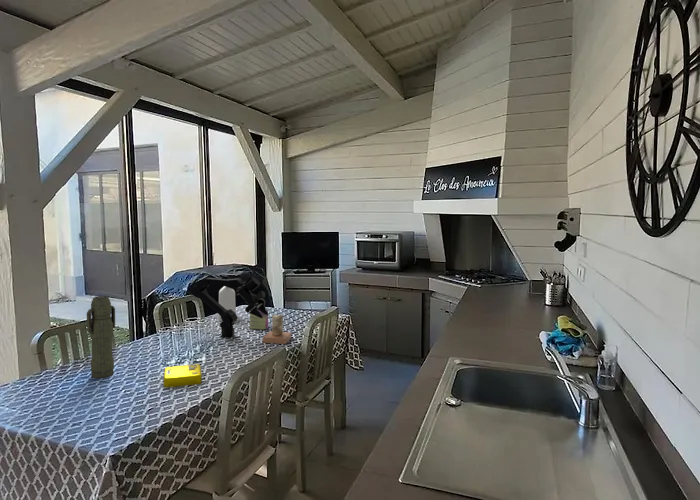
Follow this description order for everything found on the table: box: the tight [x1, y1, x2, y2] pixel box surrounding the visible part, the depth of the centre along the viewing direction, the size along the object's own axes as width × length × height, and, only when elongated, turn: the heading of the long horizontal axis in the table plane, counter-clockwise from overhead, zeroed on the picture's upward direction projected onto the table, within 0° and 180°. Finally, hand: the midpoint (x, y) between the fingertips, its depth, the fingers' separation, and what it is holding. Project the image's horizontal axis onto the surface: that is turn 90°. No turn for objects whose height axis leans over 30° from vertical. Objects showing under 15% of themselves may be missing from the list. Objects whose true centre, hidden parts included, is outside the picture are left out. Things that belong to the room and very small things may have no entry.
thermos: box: [86, 295, 116, 380], centre depth 193 cm, size 9×12×35 cm
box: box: [249, 309, 269, 330], centre depth 280 cm, size 10×6×12 cm, turn 84°
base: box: [262, 331, 292, 345], centre depth 255 cm, size 13×13×3 cm
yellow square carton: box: [163, 363, 203, 388], centre depth 191 cm, size 15×15×5 cm
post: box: [271, 314, 284, 336], centre depth 254 cm, size 6×6×11 cm
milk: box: [217, 286, 237, 322], centre depth 304 cm, size 12×12×26 cm
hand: (265, 316), depth 255 cm, fingers open, 9 cm apart
